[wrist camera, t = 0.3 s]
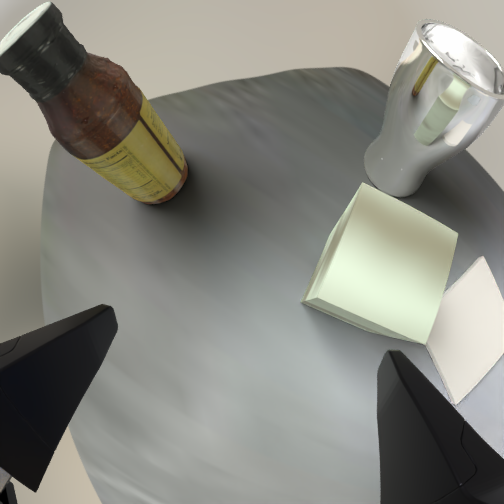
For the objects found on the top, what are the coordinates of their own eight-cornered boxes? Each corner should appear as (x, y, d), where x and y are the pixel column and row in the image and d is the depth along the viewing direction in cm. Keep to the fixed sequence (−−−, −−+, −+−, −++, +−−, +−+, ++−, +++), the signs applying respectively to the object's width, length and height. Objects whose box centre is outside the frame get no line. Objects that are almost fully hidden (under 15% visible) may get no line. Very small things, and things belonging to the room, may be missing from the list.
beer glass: (366, 127, 24) (411, 4, 10) (427, 154, 23) (502, 55, 8) (350, 184, 23) (413, 55, 9) (419, 214, 22) (524, 125, 7)
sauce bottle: (146, 146, 26) (34, 2, 7) (200, 154, 25) (104, -34, 6) (121, 204, 25) (-37, 85, 6) (175, 218, 24) (6, 56, 5)
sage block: (366, 331, 21) (425, 344, 11) (300, 302, 22) (317, 297, 12) (392, 263, 22) (458, 233, 12) (329, 234, 23) (362, 182, 13)
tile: (511, 336, 18) (516, 336, 18) (451, 402, 18) (456, 405, 17) (478, 257, 21) (483, 255, 20) (412, 321, 20) (416, 321, 20)
